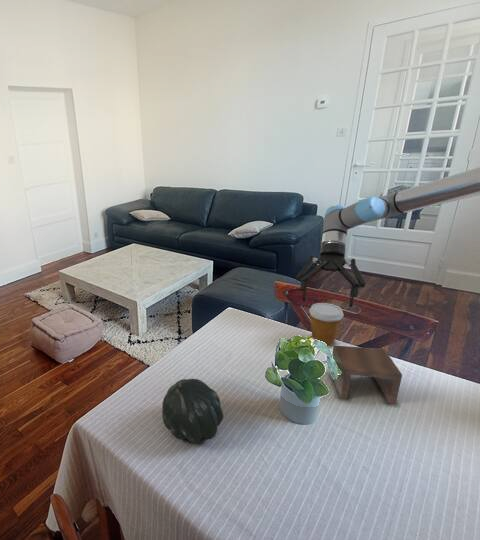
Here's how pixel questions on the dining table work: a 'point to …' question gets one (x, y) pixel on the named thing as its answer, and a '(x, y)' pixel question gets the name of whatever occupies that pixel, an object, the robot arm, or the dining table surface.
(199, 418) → the squash
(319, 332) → the disposable coffee cup
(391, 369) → the shelf
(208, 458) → the dining table surface
